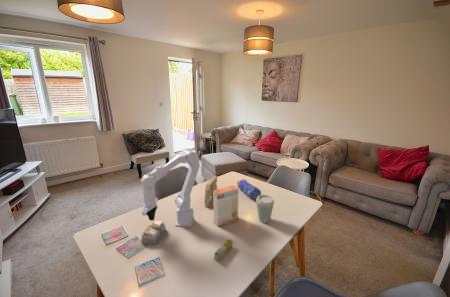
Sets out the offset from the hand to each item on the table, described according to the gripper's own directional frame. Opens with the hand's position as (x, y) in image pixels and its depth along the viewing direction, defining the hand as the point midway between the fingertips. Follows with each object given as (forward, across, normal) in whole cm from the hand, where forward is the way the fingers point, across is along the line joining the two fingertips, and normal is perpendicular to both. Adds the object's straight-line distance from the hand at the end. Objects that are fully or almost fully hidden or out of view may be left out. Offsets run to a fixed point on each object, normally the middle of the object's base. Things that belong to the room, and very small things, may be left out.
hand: (151, 219), depth 109 cm
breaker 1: (+3, 0, +2) cm, 3 cm away
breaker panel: (+8, +3, +2) cm, 9 cm away
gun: (+8, -40, +26) cm, 49 cm away
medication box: (+8, +11, +40) cm, 43 cm away
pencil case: (+8, -50, +53) cm, 74 cm away
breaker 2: (+3, +6, +2) cm, 7 cm away
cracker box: (+8, -14, +39) cm, 42 cm away
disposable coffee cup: (+8, -17, +62) cm, 65 cm away
